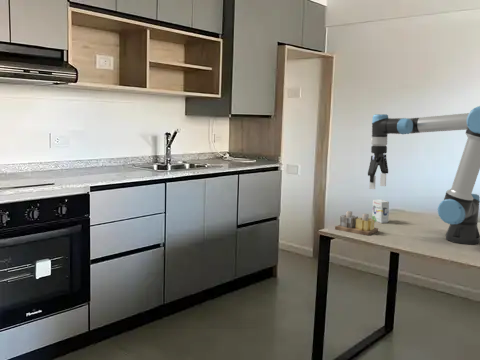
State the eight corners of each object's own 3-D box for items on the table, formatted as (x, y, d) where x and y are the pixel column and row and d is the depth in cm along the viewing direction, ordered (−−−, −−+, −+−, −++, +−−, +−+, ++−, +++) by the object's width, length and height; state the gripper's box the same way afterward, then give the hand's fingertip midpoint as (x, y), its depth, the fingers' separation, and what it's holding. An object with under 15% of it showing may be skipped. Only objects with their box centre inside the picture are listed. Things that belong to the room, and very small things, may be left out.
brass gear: (362, 226, 257) (363, 216, 256) (375, 229, 251) (376, 219, 250) (353, 228, 251) (354, 218, 251) (366, 231, 246) (367, 221, 245)
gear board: (378, 231, 253) (379, 213, 252) (367, 235, 244) (368, 217, 243) (346, 225, 264) (347, 208, 263) (335, 229, 255) (335, 212, 254)
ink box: (388, 222, 273) (389, 201, 272) (380, 223, 272) (382, 202, 270) (379, 219, 281) (380, 198, 280) (371, 220, 279) (372, 199, 278)
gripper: (381, 144, 260) (380, 184, 263) (361, 146, 241) (360, 189, 243) (395, 144, 256) (394, 185, 258) (376, 146, 236) (374, 190, 239)
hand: (377, 187), depth 251 cm, fingers open, 13 cm apart
